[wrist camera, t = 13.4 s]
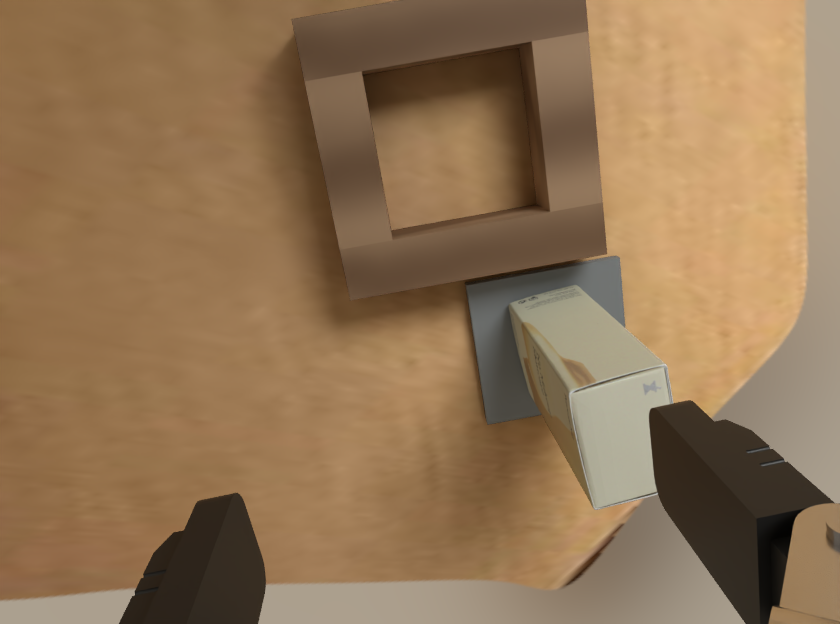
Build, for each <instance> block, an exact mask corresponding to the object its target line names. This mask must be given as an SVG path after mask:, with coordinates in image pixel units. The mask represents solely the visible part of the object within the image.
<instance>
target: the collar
mask: <svg viewBox="0 0 840 624" xmlns="http://www.w3.org/2000/svg"><path fill="white" fill-rule="evenodd" d="M292 24H293V29H294V34H295V38H296V43H297V48H298V53H299V58H300V62H301V67H302V72H303V77H304V81H305V86H306V91H307V96H308V101H309V105H310V110H311V115H312V120H313V124H314V129H315V134H316V139H317V144H318V148H319V153H320V158H321V163H322V167H323V172H324V177H325V182H326V187H327V191H328V196H329V201H330V206H331V210H332V215H333V220H334V225H335V230H336V234H337V239H338V244H339V249H340V253H341V258H342V263H343V268H344V273H345V277H346V282H347V287H348V292H349V296H350V301H351V300H356V299H362V298H367V297H373V296H378V295H384V294H389V293H395V292H400V291H406V290H411V289H417V288H422V287H428V286H433V285H439V284H444V283H450V282H456V281H461V280H467V279H472V278H478V277H483V276H489V275H494V274H500V273H505V272H511V271H516V270H522V269H527V268H533V267H538V266H544V265H549V264H555V263H561V262H566V261H572V260H577V259H583V258H588V257H594V256H599V255H605V254H607V248H606V236H605V224H604V212H603V200H602V188H601V176H600V165H599V153H598V141H597V129H596V117H595V105H594V93H593V82H592V70H591V58H590V46H589V34H588V22H587V10H586V0H399V1H393V2H387V3H382V4H376V5H370V6H364V7H359V8H353V9H347V10H341V11H336V12H330V13H324V14H319V15H313V16H307V17H301V18H296V19H292ZM514 48H519V54H520V63H521V71H522V80H523V89H524V98H525V106H526V115H527V124H528V132H529V141H530V150H531V159H532V167H533V176H534V185H535V194H536V202H537V204H536V205H531V206H525V207H520V208H514V209H509V210H503V211H497V212H492V213H486V214H481V215H475V216H470V217H464V218H458V219H453V220H447V221H442V222H436V223H431V224H425V225H419V226H414V227H408V228H403V229H397V230H392V231H391V227H390V221H389V216H388V210H387V205H386V200H385V194H384V189H383V183H382V178H381V172H380V167H379V161H378V156H377V151H376V145H375V140H374V134H373V129H372V123H371V118H370V112H369V107H368V102H367V96H366V91H365V85H364V80H363V75H366V74H372V73H377V72H383V71H389V70H394V69H400V68H406V67H411V66H417V65H423V64H428V63H434V62H440V61H445V60H451V59H457V58H462V57H468V56H474V55H480V54H485V53H491V52H497V51H502V50H508V49H514Z"/></svg>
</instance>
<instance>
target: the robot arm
mask: <svg viewBox="0 0 840 624" xmlns="http://www.w3.org/2000/svg"><path fill="white" fill-rule="evenodd" d="M649 428H650V438H651V449H652V460H653V471H654V480H655V485H656V489H657V492H658V495H659V498H660V501H661V503H662V505H663V507H664V509H665V510H666V512H667V513H668V515H669V516H670V518H671V519H672V521H673V522H674V523H675V525H676V526H677V528H678V529H679V530H680V532H681V533H682V535H683V536H684V537H685V539H686V540H687V542H688V543H689V544H690V546H691V547H692V549H693V550H694V551H695V553H696V554H697V555H698V557H699V558H700V560H701V561H702V563H703V564H704V565H705V567H706V568H707V570H708V571H709V573H710V574H711V575H712V577H713V578H714V580H715V581H716V582H717V584H718V585H719V587H720V588H721V589H722V591H723V592H724V594H725V595H726V597H727V598H728V599H729V601H730V602H731V603H732V605H733V606H734V608H735V609H736V611H737V612H738V613H739V615H740V616H741V618H742V619H743V620H744V622H745V623H746V624H840V503H834V502H833V501H832V500H831V499H830V498H828V497H827V496H826V495H825V494H824V493H822V492H821V491H820V490H819V489H818V488H817V487H816V486H815V485H813V484H812V483H811V482H810V481H809V480H808V479H807V478H805V477H804V476H803V475H802V474H801V473H800V472H798V471H797V470H796V469H795V468H794V467H793V466H792V465H791V464H789V463H788V462H785V461H784V459H783V457H781V456H780V455H779V454H778V453H777V452H776V451H774V450H773V449H770V448H769V445H768V444H766V443H765V442H764V441H763V440H762V439H761V438H760V437H758V436H757V435H756V434H755V433H754V432H753V431H751V430H749V429H747V428H745V427H742V426H739V425H737V424H735V423H733V422H730V421H728V420H721V421H716V422H714V421H713V420H712V419H711V418H710V417H709V416H708V415H707V414H706V413H705V412H704V411H703V410H702V409H700V408H699V407H698V406H697V405H696V404H695V403H694V402H693V401H691V400H688V401H683V402H678V403H673V404H668V405H664V406H659V407H654V408H651V409H650V412H649ZM143 575H144V578H141V580H140V582H139V584H138V586H137V588H136V590H135V596H132V598H131V600H130V602H129V604H128V607H127V608H126V610H125V612H124V614H123V617H122V619H121V620H120V623H119V624H258V621H259V616H260V612H261V608H262V603H263V599H264V594H265V587H266V577H265V568H264V562H263V558H262V555H261V552H260V549H259V546H258V543H257V540H256V537H255V534H254V531H253V528H252V525H251V522H250V518H249V515H248V512H247V509H246V506H245V503H244V501H243V499H242V497H241V496H240V494H238V493H233V494H229V495H224V496H219V497H214V498H209V499H205V500H200V501H198V502H197V503H196V505H195V507H194V509H193V511H192V514H191V516H190V518H189V520H188V523H187V525H186V527H185V529H184V531H179V532H174V533H173V534H172V535H171V536H170V537H169V538H168V539H167V540H166V541H165V542H164V543H163V544H162V545H161V546H160V547H159V548H158V549H157V550H156V551H155V552H154V553H153V555H152V557H151V559H150V561H149V563H148V566H147V568H146V570H145V572H144V574H143Z"/></svg>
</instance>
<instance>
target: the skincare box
mask: <svg viewBox="0 0 840 624" xmlns="http://www.w3.org/2000/svg"><path fill="white" fill-rule="evenodd" d="M509 311H510V317H511V322H512V327H513V332H514V336H515V341H516V345H517V349H518V354H519V358H520V361H521V365H522V368H523V372H524V376H525V379H526V383H527V387H528V390H529V393H530V395H531V397H532V399H533V400H534V402H535V404H536V406H537V407H538V409H539V411H540V413H541V414H542V416H543V418H544V420H545V421H546V423H547V425H548V427H549V429H550V431H551V432H552V434H553V436H554V438H555V440H556V441H557V443H558V445H559V447H560V449H561V450H562V452H563V454H564V456H565V458H566V459H567V461H568V463H569V465H570V467H571V468H572V470H573V472H574V474H575V476H576V478H577V479H578V481H579V483H580V485H581V487H582V488H583V490H584V492H585V494H586V495H587V497H588V499H589V501H590V503H591V505H592V506H593V508H594V509H595V510H598V509H603V508H606V507H610V506H614V505H619V504H623V503H627V502H631V501H635V500H639V499H643V498H646V497H650V496H655V495H658V492H657V489H656V485H655V480H654V471H653V460H652V449H651V438H650V428H649V412H650V409H651V408H654V407H659V406H664V405H668V404H673V398H672V393H671V386H670V381H669V375H668V368H667V365H666V364H665V363H664V362H663V361H662V360H661V359H659V358H658V357H657V356H656V355H655V354H654V353H653V352H652V351H650V350H649V349H648V348H647V347H646V346H645V345H644V344H643V343H642V342H640V341H639V340H638V339H637V338H636V337H635V336H634V335H633V334H631V333H630V332H629V331H628V330H627V329H626V328H625V327H623V326H622V325H621V324H620V323H619V322H618V321H617V320H616V319H614V318H613V317H612V316H611V315H610V314H609V313H608V312H607V311H606V310H604V309H603V308H602V307H601V306H600V305H599V304H598V303H596V302H595V301H594V300H593V299H592V298H591V297H590V296H589V295H588V294H586V293H585V292H584V291H583V290H582V289H581V288H580V287H579V286H577V285H572V286H568V287H564V288H560V289H556V290H552V291H548V292H544V293H541V294H537V295H533V296H530V297H527V298H524V299H521V300H517V301H514V302H512V303H510V304H509Z"/></svg>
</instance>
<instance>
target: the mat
mask: <svg viewBox="0 0 840 624" xmlns="http://www.w3.org/2000/svg"><path fill="white" fill-rule="evenodd" d="M465 285H466V291H467V298H468V305H469V311H470V318H471V324H472V331H473V337H474V344H475V350H476V357H477V363H478V370H479V376H480V383H481V390H482V396H483V403H484V409H485V416H486V421H487V424H488V425H489V424H494V423H500V422H505V421H510V420H516V419H521V418H527V417H532V416H538V415H542V414H541V413H540V411H539V409H538V407H537V406H536V404H535V402H534V400H533V399H532V397H531V395H530V393H529V390H528V387H527V383H526V379H525V376H524V372H523V368H522V365H521V361H520V358H519V354H518V349H517V345H516V341H515V336H514V332H513V327H512V322H511V317H510V311H509V304H510V303H512V302H514V301H517V300H521V299H524V298H527V297H530V296H533V295H537V294H541V293H544V292H548V291H552V290H556V289H560V288H564V287H568V286H572V285H577V286H579V287H580V288H581V289H582V290H583V291H584V292H585V293H586V294H588V295H589V296H590V297H591V298H592V299H593V300H594V301H595V302H596V303H598V304H599V305H600V306H601V307H602V308H603V309H604V310H606V311H607V312H608V313H609V314H610V315H611V316H612V317H613V318H614V319H616V320H617V321H618V322H619V323H620V324H621V325H622V326H623V327H625V318H624V306H623V293H622V280H621V267H620V258H619V257H618V256H611V257H606V258H600V259H595V260H589V261H584V262H578V263H573V264H567V265H562V266H556V267H551V268H545V269H540V270H534V271H529V272H523V273H517V274H512V275H506V276H501V277H495V278H490V279H484V280H479V281H473V282H468V283H465Z"/></svg>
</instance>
